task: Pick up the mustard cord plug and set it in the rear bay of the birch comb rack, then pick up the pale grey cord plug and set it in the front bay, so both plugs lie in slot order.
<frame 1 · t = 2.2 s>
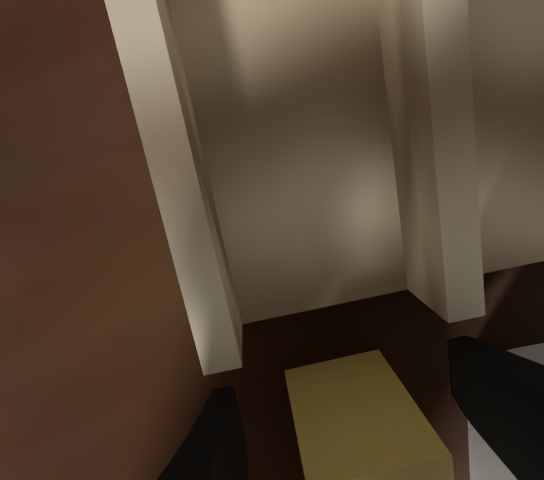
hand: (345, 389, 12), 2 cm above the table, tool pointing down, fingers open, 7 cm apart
grey plug: (509, 415, 15), on the table, touching gripper
mustard plug: (343, 427, 14), on the table
birch comb rack: (394, 114, 12), on the table
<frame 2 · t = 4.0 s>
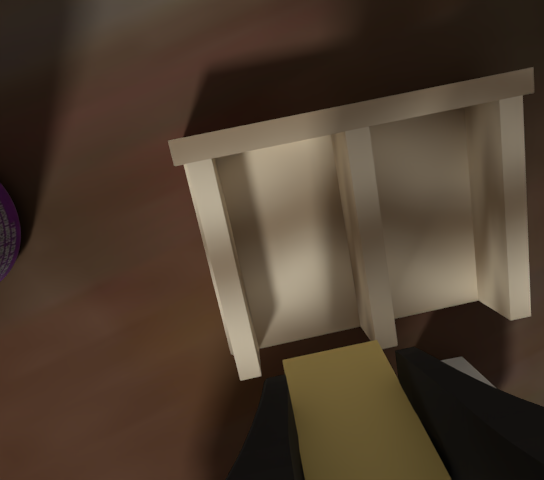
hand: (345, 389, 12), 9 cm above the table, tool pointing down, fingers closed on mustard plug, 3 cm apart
grey plug: (434, 405, 23), on the table
mustard plug: (337, 406, 15), point 6 cm above the table, tilted 14°, touching gripper
birch comb rack: (350, 221, 19), on the table
when the fingers open (4 cm above the table, at t = 5.4 s): mustard plug stays where it is, resting on birch comb rack.
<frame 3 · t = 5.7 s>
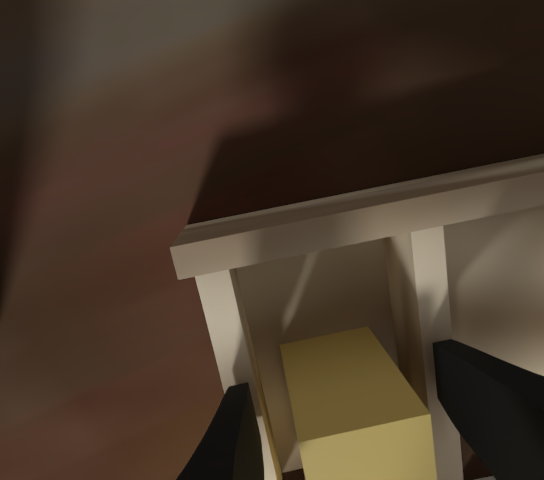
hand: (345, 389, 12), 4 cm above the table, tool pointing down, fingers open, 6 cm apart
mustard plug: (335, 401, 15), point 1 cm above the table, touching birch comb rack
birch comb rack: (398, 317, 15), on the table
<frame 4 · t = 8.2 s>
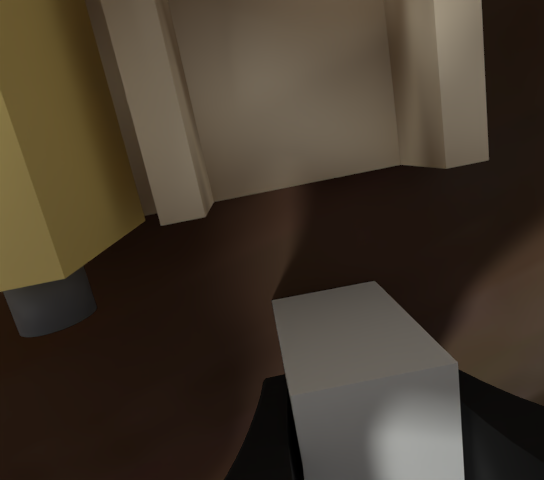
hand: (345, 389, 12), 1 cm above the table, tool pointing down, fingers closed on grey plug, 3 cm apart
grey plug: (334, 369, 13), on the table, touching gripper
mustard plug: (49, 124, 10), point 1 cm above the table, touching birch comb rack
birch comb rack: (152, 2, 10), on the table
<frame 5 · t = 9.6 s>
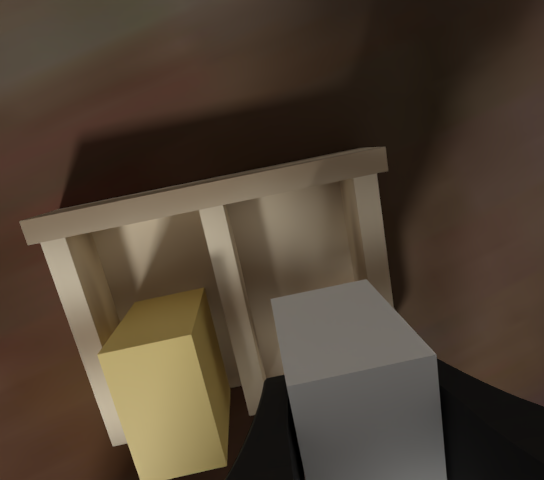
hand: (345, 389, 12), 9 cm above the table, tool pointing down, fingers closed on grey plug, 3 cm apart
grey plug: (330, 362, 14), point 6 cm above the table, touching gripper
mustard plug: (184, 348, 19), point 1 cm above the table, touching birch comb rack
birch comb rack: (235, 282, 20), on the table
when the fingers open (4 cm above the table, at t = 11.0 s): grey plug stays where it is, resting on birch comb rack.
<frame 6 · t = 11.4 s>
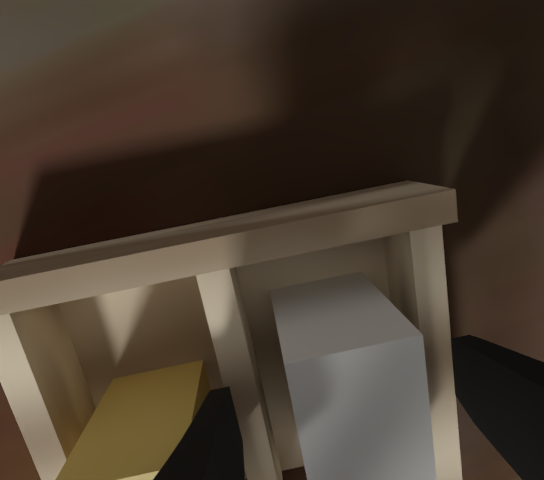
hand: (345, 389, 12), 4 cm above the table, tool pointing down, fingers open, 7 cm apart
grey plug: (327, 351, 15), point 1 cm above the table, touching birch comb rack
mustard plug: (177, 434, 15), point 1 cm above the table, touching birch comb rack
birch comb rack: (243, 349, 15), on the table
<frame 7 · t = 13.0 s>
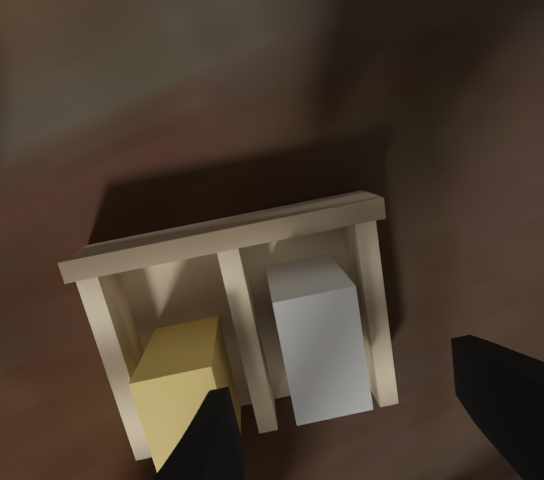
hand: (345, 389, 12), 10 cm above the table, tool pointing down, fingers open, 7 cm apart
grey plug: (306, 310, 21), point 1 cm above the table, touching birch comb rack
mustard plug: (199, 370, 21), point 1 cm above the table, touching birch comb rack
birch comb rack: (246, 310, 22), on the table
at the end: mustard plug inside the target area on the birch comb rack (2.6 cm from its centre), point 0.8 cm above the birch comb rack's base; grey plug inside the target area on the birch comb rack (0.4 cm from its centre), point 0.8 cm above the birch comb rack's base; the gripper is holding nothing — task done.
